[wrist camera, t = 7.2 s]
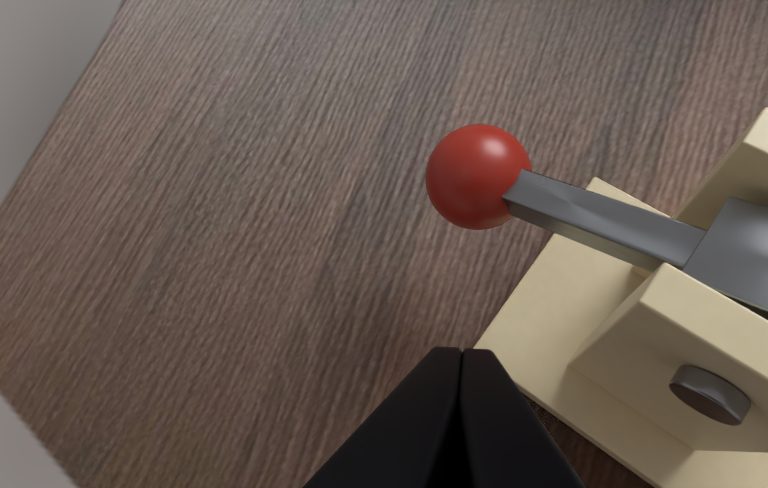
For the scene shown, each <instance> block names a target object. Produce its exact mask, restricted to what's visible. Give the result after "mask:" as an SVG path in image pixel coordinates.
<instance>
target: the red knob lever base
mask: <svg viewBox="0 0 768 488" xmlns="http://www.w3.org/2000/svg"><path fill="white" fill-rule="evenodd" d="M586 190H589V191H592V192H595V193H598V194H601V195H604V196H607V197H610V198H613V199H616V200H619V201H622V202H625V203H628V204H631V205H634V206H637V207H640V208H642V209H645V210H648V211H651V212H654V213H657V214H660V215H663V216H666V217H669V216H667V215H665V214H663V213H662V212H660V211H658V210H656V209H654V208H652V207H650V206H649V205H647V204H645V203H643V202H641V201H639V200H637V199H636V198H634V197H632V196H630V195H628V194H626V193H624V192H623V191H621V190H619V189H617V188H615V187H613V186H611V185H610V184H608V183H606V182H604V181H602V180H600V179H599V178H597V177H594V178H593V179H592V181H591V182H590V184H589V185H588V186H587V188H586ZM729 196H732V197H736V198H739V199H742V200H746V201H749V202H753V203H756V204H760V205H763V206H767V207H768V107H765V108H764V109H763V110H762V111H761V112H760V113H759V115H758V116H757V117H756V118H755V119H754V120H753V122H752V123H751V124H750V125H749V126H748V127H747V129H746V130H745V131H744V132H743V133H742V134H741V136H740V137H739V138H738V139H737V140H736V141H735V143H734V144H733V145H732V146H731V147H730V149H729V150H728V151H727V152H726V153H725V154H724V156H723V157H722V158H721V159H720V160H719V161H718V163H717V164H716V165H715V166H714V167H713V168H712V170H711V171H710V172H709V173H708V174H707V175H706V177H705V178H704V179H703V180H702V181H701V183H700V184H699V185H698V186H697V187H696V188H695V190H694V191H693V192H692V193H691V194H690V195H689V197H688V198H687V199H686V200H685V201H684V202H683V204H682V205H681V206H680V207H679V208H678V209H677V211H676V212H675V213H674V214H673V215H672V217H669V218H672V219H675V220H678V221H681V222H684V223H687V224H690V225H693V226H696V227H699V228H702V229H705V230H707V229H708V228H709V226H710V225H711V223H712V222H713V220H714V218H715V217H716V215H717V214H718V212H719V211H720V209H721V208H722V206H723V204H724V203H725V201H726V200H727V198H728V197H729ZM473 348H474V349H489V350H491V351H493V352H494V354H495V355H496V357H497V358H498V359H499V361H500V362H501V364H502V365H503V367H504V368H505V370H506V371H507V373H508V374H509V375H510V377H511V378H512V380H513V381H514V383H515V384H516V386H517V387H518V388H519V390H520V391H521V392H522V393H523V394H525V395H526V396H528V397H529V398H530V399H532V400H533V401H534V402H536V403H537V404H539V405H540V406H541V407H543V408H544V409H546V410H547V411H548V412H550V413H551V414H553V415H554V416H555V417H557V418H558V419H560V420H561V421H562V422H564V423H565V424H567V425H568V426H569V427H571V428H572V429H573V430H575V431H576V432H578V433H579V434H580V435H582V436H583V437H585V438H586V439H587V440H589V441H590V442H592V443H593V444H594V445H596V446H597V447H599V448H600V449H601V450H603V451H604V452H606V453H607V454H608V455H610V456H611V457H612V458H614V459H615V460H617V461H618V462H619V463H621V464H622V465H624V466H625V467H626V468H628V469H629V470H631V471H632V472H633V473H635V474H636V475H638V476H639V477H640V478H642V479H643V480H645V481H646V482H647V483H649V484H650V485H651V486H653V487H654V488H768V320H766V319H764V318H763V317H761V316H759V315H757V314H756V313H754V312H752V311H750V310H749V309H747V308H745V307H743V306H742V305H740V304H738V303H736V302H735V301H733V300H731V299H729V298H728V297H726V296H724V295H722V294H721V293H719V292H717V291H715V290H714V289H712V288H710V287H708V286H706V285H705V284H703V283H701V282H699V281H698V280H696V279H694V278H692V277H691V276H689V275H687V274H685V273H684V272H682V271H680V270H678V269H677V268H675V267H673V266H671V265H670V264H668V263H663V264H661V265H660V266H659V267H658V268H657V269H656V270H655V271H654V272H653V273H652V272H649V271H647V270H644V269H642V268H639V267H637V266H634V265H632V264H630V263H627V262H625V261H622V260H620V259H617V258H615V257H612V256H610V255H607V254H605V253H603V252H600V251H598V250H595V249H593V248H590V247H588V246H585V245H583V244H581V243H578V242H576V241H573V240H571V239H568V238H566V237H563V236H561V235H559V234H556V233H554V234H553V236H552V237H551V239H550V240H549V242H548V243H547V244H546V246H545V247H544V249H543V250H542V251H541V253H540V254H539V256H538V257H537V258H536V260H535V261H534V263H533V264H532V265H531V267H530V268H529V270H528V271H527V273H526V274H525V275H524V277H523V278H522V280H521V281H520V282H519V284H518V285H517V287H516V288H515V289H514V291H513V292H512V294H511V295H510V297H509V298H508V299H507V301H506V302H505V304H504V305H503V306H502V308H501V309H500V311H499V312H498V313H497V315H496V316H495V318H494V319H493V321H492V322H491V323H490V325H489V326H488V328H487V329H486V330H485V332H484V333H483V335H482V336H481V337H480V339H479V340H478V342H477V343H476V345H475V346H474V347H473Z"/></svg>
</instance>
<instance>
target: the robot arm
mask: <svg viewBox="0 0 768 488" xmlns="http://www.w3.org/2000/svg"><path fill="white" fill-rule="evenodd" d="M458 485H459V488H587V487H586V485H585V484H584V482H583V481H582V479H581V478H580V477H579V475H578V474H577V472H576V471H575V469H574V468H573V466H572V465H571V464H570V462H569V461H568V459H567V458H566V456H565V455H564V453H563V452H562V451H561V449H560V448H559V446H558V445H557V443H556V442H555V440H554V439H553V438H552V436H551V435H550V433H549V432H548V430H547V429H546V427H545V426H544V425H543V423H542V422H541V420H540V419H539V417H538V416H537V414H536V413H535V412H534V410H533V409H532V407H531V406H530V404H529V403H528V401H527V400H526V399H525V397H524V396H523V394H522V393H521V391H520V390H519V388H518V387H517V386H516V384H515V383H514V381H513V380H512V378H511V377H510V375H509V374H508V373H507V371H506V370H505V368H504V367H503V365H502V364H501V362H500V361H499V359H498V358H497V357H496V355H495V354H494V352H493V351H491V350H489V349H474V348H466V349H465V350H464V351H463V354H462V350H461V349H460V348H456V347H434V348H432V349H431V350H430V352H429V353H428V354H427V355H426V356H425V357H424V358H423V359H422V360H421V361H420V362H419V363H418V364H417V365H416V367H415V368H414V369H413V370H412V371H411V372H410V373H409V374H408V375H407V376H406V377H405V378H404V379H403V380H402V381H401V383H400V384H399V385H398V386H397V387H396V388H395V389H394V390H393V391H392V392H391V393H390V394H389V395H388V396H387V398H386V399H385V400H384V401H383V402H382V403H381V404H380V405H379V406H378V407H377V408H376V409H375V410H374V411H373V413H372V414H371V415H370V416H369V417H368V418H367V419H366V420H365V421H364V422H363V423H362V424H361V425H360V426H359V427H358V429H357V430H356V431H355V432H354V433H353V434H352V435H351V436H350V437H349V438H348V439H347V440H346V441H345V442H344V444H343V445H342V446H341V447H340V448H339V449H338V450H337V451H336V452H335V453H334V454H333V455H332V456H331V457H330V458H329V460H328V461H327V462H326V463H325V464H324V465H323V466H322V467H321V468H320V469H319V470H318V471H317V472H316V473H315V475H314V476H313V477H312V478H311V479H310V480H309V481H308V482H307V483H306V484H305V485H304V486H303V487H302V488H458Z"/></svg>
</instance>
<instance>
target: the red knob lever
mask: <svg viewBox="0 0 768 488" xmlns="http://www.w3.org/2000/svg"><path fill="white" fill-rule="evenodd" d="M426 188H427V192H428V195H429V198H430V200H431V202H432V204H433V206H434V207H435V209H436V210H437V211H438V212H439V213H440V214H441V215H442V216H443V217H444V218H445V219H446V220H448V221H449V222H451V223H453V224H455V225H457V226H459V227H462V228H466V229H472V230H483V229H490V228H494V227H496V226H499V225H501V224H503V223H505V222H507V221H508V220H510V219H511V218H512V217H513V216H514V217H517V218H519V219H522V220H524V221H527V222H529V223H532V224H534V225H536V226H539V227H541V228H544V229H546V230H549V231H551V232H554V233H556V234H559V235H561V236H563V237H566V238H568V239H571V240H573V241H576V242H578V243H581V244H583V245H585V246H588V247H590V248H593V249H595V250H598V251H600V252H603V253H605V254H607V255H610V256H612V257H615V258H617V259H620V260H622V261H625V262H627V263H630V264H632V265H634V266H637V267H639V268H642V269H644V270H647V271H649V272H652V273H653V272H654V271H655V270H656V269H657V268H658V267H659V266H660V265H661V264H663V263H668V264H670V265H671V266H673V267H675V268H677V269H678V270H680V271H682V272H684V273H685V274H687V275H689V276H691V277H692V278H694V279H696V280H698V281H699V282H701V283H703V284H705V285H706V286H708V287H710V288H712V289H714V290H715V291H717V292H719V293H721V294H722V295H724V296H726V297H728V298H729V299H731V300H733V301H735V302H736V303H738V304H740V305H742V306H743V307H745V308H747V309H749V310H750V311H752V312H754V313H756V314H757V315H759V316H761V317H763V318H764V319H766V320H768V207H767V206H763V205H760V204H756V203H753V202H749V201H746V200H742V199H739V198H736V197H732V196H729V197H728V198H727V200H726V201H725V203H724V204H723V206H722V208H721V209H720V211H719V212H718V214H717V215H716V217H715V218H714V220H713V222H712V223H711V225H710V226H709V228H708V229H707V230H705V229H702V228H699V227H696V226H693V225H690V224H687V223H684V222H681V221H678V220H675V219H672V218H669V217H666V216H663V215H660V214H657V213H654V212H651V211H648V210H645V209H642V208H640V207H637V206H634V205H631V204H628V203H625V202H622V201H619V200H616V199H613V198H610V197H607V196H604V195H601V194H598V193H595V192H592V191H589V190H586V189H583V188H580V187H577V186H574V185H571V184H568V183H565V182H562V181H559V180H556V179H553V178H550V177H547V176H544V175H541V174H538V173H535V172H532V169H531V164H530V160H529V157H528V155H527V153H526V151H525V149H524V148H523V146H522V145H521V143H520V142H519V141H518V140H517V139H516V138H515V137H514V136H512V135H511V134H510V133H508V132H506V131H505V130H503V129H501V128H498V127H495V126H491V125H485V124H474V125H468V126H464V127H461V128H459V129H457V130H455V131H453V132H451V133H450V134H448V135H447V136H446V137H444V138H443V139H442V140H441V141H440V142H439V143H438V145H437V146H436V147H435V149H434V150H433V152H432V154H431V156H430V158H429V161H428V164H427V168H426Z"/></svg>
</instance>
